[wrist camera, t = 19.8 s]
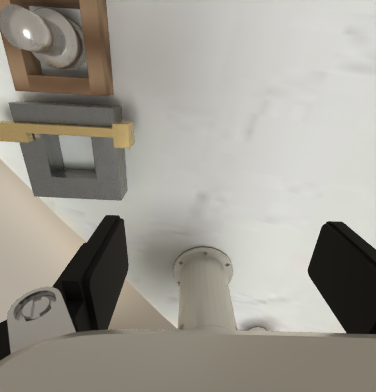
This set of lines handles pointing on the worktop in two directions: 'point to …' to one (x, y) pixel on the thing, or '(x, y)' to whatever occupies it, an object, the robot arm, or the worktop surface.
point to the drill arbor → (44, 36)
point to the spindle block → (52, 157)
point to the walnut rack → (94, 47)
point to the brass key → (68, 131)
